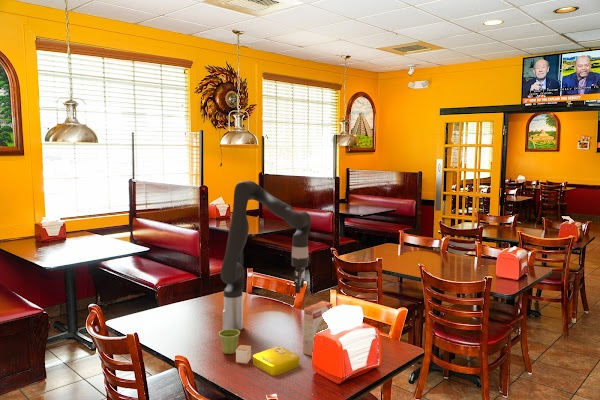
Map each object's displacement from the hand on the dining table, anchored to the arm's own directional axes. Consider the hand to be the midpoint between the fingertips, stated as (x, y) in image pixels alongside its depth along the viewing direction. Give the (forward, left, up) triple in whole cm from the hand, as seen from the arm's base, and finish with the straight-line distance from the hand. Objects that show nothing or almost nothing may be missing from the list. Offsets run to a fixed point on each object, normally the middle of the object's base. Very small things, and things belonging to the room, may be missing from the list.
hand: (299, 290), depth 223 cm
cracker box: (+10, -6, -25) cm, 28 cm away
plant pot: (-28, -16, -25) cm, 41 cm away
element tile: (-4, -24, -26) cm, 36 cm away
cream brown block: (-19, -23, -25) cm, 39 cm away
